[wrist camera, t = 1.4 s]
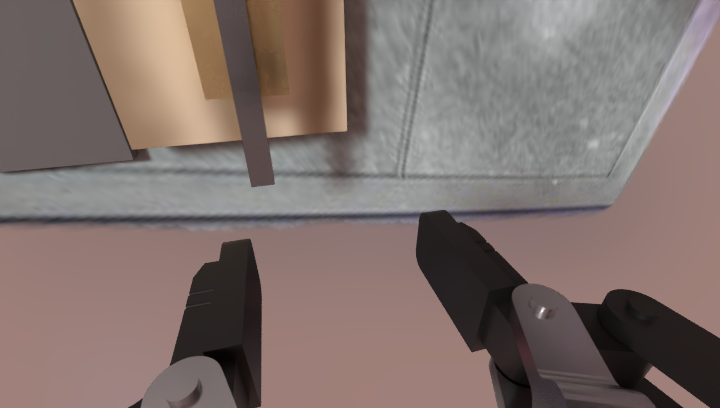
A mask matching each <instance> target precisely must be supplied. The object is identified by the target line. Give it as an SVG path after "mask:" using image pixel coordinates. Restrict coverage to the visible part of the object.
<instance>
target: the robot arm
mask: <svg viewBox="0 0 720 408" xmlns="http://www.w3.org/2000/svg"><path fill="white" fill-rule="evenodd" d="M416 258H417V262H418V265H419V267H420V269H421V271H422V272H423V274H424V276H425V277H426V279H427V280H428V282H429V284H430V285H431V287H432V289H433V290H434V292H435V293H436V295H437V297H438V298H439V300H440V302H441V303H442V305H443V307H444V308H445V310H446V311H447V313H448V314H449V316H450V318H451V319H452V321H453V323H454V324H455V326H456V328H457V329H458V331H459V332H460V334H461V336H462V337H463V339H464V341H465V342H466V344H467V345H468V347H469V349H470V350H471V352H475V351H478V350H482V349H487V351H488V352H489V354H490V355H491V358H490V361H489V369H490V374H491V379H492V383H493V387H494V392H495V397H496V401H497V405H498V408H683V407H682V406H680V405H679V404H678V403H676V402H675V401H674V400H673V399H671V398H670V397H669V396H667V395H666V394H665V393H664V392H662V391H661V390H659V389H658V388H657V387H656V386H655V385H653V384H652V383H651V382H649V381H648V380H647V379H646V378H644V376H645V375H646V374H647V373H648V371H649V370H650V369H651V367H652V366H654V367H656V368H657V369H658V370H660V371H661V372H663V373H664V374H665V375H667V376H668V377H669V378H671V379H672V380H674V381H675V382H676V383H677V384H679V385H680V386H682V387H683V388H684V389H686V390H687V391H688V392H690V393H691V394H692V395H694V396H695V397H696V398H698V399H699V400H700V401H702V402H703V403H705V404H706V405H707V406H709V407H710V408H720V338H718V337H717V336H715V335H713V334H712V333H710V332H708V331H707V330H705V329H703V328H702V327H700V326H698V325H697V324H695V323H693V322H692V321H690V320H688V319H687V318H685V317H683V316H681V315H680V314H678V313H676V312H675V311H673V310H672V309H670V308H668V307H667V306H665V305H663V304H661V303H660V302H658V301H656V300H655V299H653V298H651V297H649V296H647V295H644V294H641V293H639V292H635V291H631V290H624V289H617V290H613V291H610V292H609V293H608V294H607V295H606V297H605V299H604V301H603V302H602V304H588V303H573V302H569V300H568V299H566V298H565V297H564V296H563V295H562V294H560V293H559V292H556V291H555V290H553V289H551V288H548V287H546V286H543V285H538V284H528V282H527V281H525V279H524V278H523V277H522V276H521V275H520V274H519V273H518V272H517V271H516V270H515V269H514V268H513V267H512V266H511V265H510V264H509V263H508V262H507V261H506V260H505V259H504V258H503V257H502V256H501V255H500V254H499V253H498V252H497V251H495V250H494V248H493V247H492V246H491V245H490V244H489V243H487V242H486V240H485V239H484V238H483V237H482V236H481V235H480V234H479V233H478V232H477V231H476V230H475V229H473V228H471V227H469V226H468V225H466V224H464V223H462V222H460V223H457V222H456V221H455V220H454V218H453V217H452V216H451V215H450V214H449V213H448V212H447V211H446V210H439V211H432V212H426V213H422V214H421V215H420V218H419V226H418V236H417V245H416ZM189 294H190V296H188V300H187V304H186V309H185V311H184V315H183V319H182V322H181V326H180V330H179V334H178V337H177V341H176V345H175V349H174V352H173V356H172V360H171V363H170V366H169V367H168V368H167V369H165V370H164V371H163V372H162V373H160V374H159V375H158V376H157V377H156V379H155V380H154V381H153V382H152V383H151V385H150V386H149V387H148V389H147V391H146V393H145V395H144V397H143V399H141V400H140V401H138V402H137V403H136V404H134V405H132V406H130V407H129V408H257V407H260V406H261V324H262V323H261V322H262V319H261V318H262V310H261V309H262V308H261V307H262V305H261V304H262V302H261V301H262V296H261V295H262V294H261V284H260V278H259V274H258V269H257V265H256V260H255V256H254V251H253V247H252V243H251V240H250V239H244V240H237V241H230V242H224V243H223V244H222V248H221V254H220V259H219V261H216V262H210V263H205V264H204V265H203V266H202V267H201V269H200V270H199V271H198V272H197V274H196V275H195V276H194V277H193V281H192V285H191V288H190V292H189Z"/></svg>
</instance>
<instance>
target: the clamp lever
mask: <svg viewBox="0 0 720 408" xmlns="http://www.w3.org/2000/svg"><path fill="white" fill-rule="evenodd" d="M213 1H214V6H215V11H216V16H217V21H218V26H219V30H220V35H221V40H222V45H223V50H224V55H225V60H226V65H227V70H228V74H229V79H230V84H231V89H232V94H233V99H234V104H235V109H236V113H237V118H238V123H239V128H240V133H241V138H242V143H243V148H244V153H245V157H246V162H247V167H248V172H249V177H250V182H251V187H257V186H265V185H274V184H275V182H274V174H273V167H272V161H271V155H270V149H269V142H268V136H267V130H266V124H265V118H264V111H263V105H262V99H261V93H260V86H259V80H258V74H257V68H256V62H255V55H254V49H253V43H252V37H251V30H250V24H249V18H248V12H247V6H246V0H213Z"/></svg>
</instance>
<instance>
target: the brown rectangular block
mask: <svg viewBox="0 0 720 408" xmlns="http://www.w3.org/2000/svg"><path fill="white" fill-rule="evenodd" d="M181 4H182V8H183V12H184V16H185V20H186V24H187V28H188V32H189V36H190V40H191V44H192V48H193V52H194V56H195V60H196V64H197V68H198V72H199V76H200V80H201V84H202V88H203V92H204V96H205V100H211V99H227V98H233V94H232V89H231V84H230V79H229V74H228V70H227V65H226V60H225V55H224V50H223V45H222V40H221V35H220V30H219V26H218V21H217V16H216V11H215V6H214V1H213V0H181ZM246 6H247V12H248V18H249V24H250V30H251V37H252V43H253V49H254V55H255V62H256V68H257V74H258V80H259V86H260V93H261V96H277V95H290V92H289V83H288V74H287V66H286V57H285V48H284V40H283V31H282V22H281V14H280V5H279V0H246Z"/></svg>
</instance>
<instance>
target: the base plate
mask: <svg viewBox="0 0 720 408" xmlns="http://www.w3.org/2000/svg"><path fill="white" fill-rule="evenodd" d="M73 2H74V5H75V7H76V10H77V12H78V15H79V17H80V20H81V22H82V25H83V27H84V30H85V32H86V35H87V38H88V40H89V43H90V45H91V48H92V50H93V53H94V55H95V58H96V60H97V63H98V65H99V68H100V70H101V73H102V75H103V78H104V80H105V83H106V85H107V88H108V91H109V93H110V96H111V98H112V101H113V103H114V106H115V108H116V111H117V113H118V116H119V118H120V121H121V123H122V126H123V128H124V131H125V133H126V136H127V138H128V141H129V143H130V146H131V149H132V150H134V149H146V148H157V147H168V146H180V145H191V144H203V143H214V142H226V141H237V140H242V138H241V133H240V128H239V123H238V118H237V113H236V109H235V104H234V99H233V98H227V99H211V100H205V96H204V92H203V88H202V84H201V80H200V76H199V72H198V68H197V64H196V60H195V56H194V52H193V48H192V44H191V40H190V36H189V32H188V28H187V24H186V20H185V16H184V12H183V8H182V4H181V0H73ZM279 5H280V14H281V22H282V31H283V40H284V48H285V57H286V66H287V74H288V83H289V92H290V95H277V96H261V99H262V105H263V111H264V118H265V124H266V130H267V136H268V138H272V137H283V136H294V135H306V134H317V133H329V132H340V131H347V106H346V70H345V33H344V0H279Z"/></svg>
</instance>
